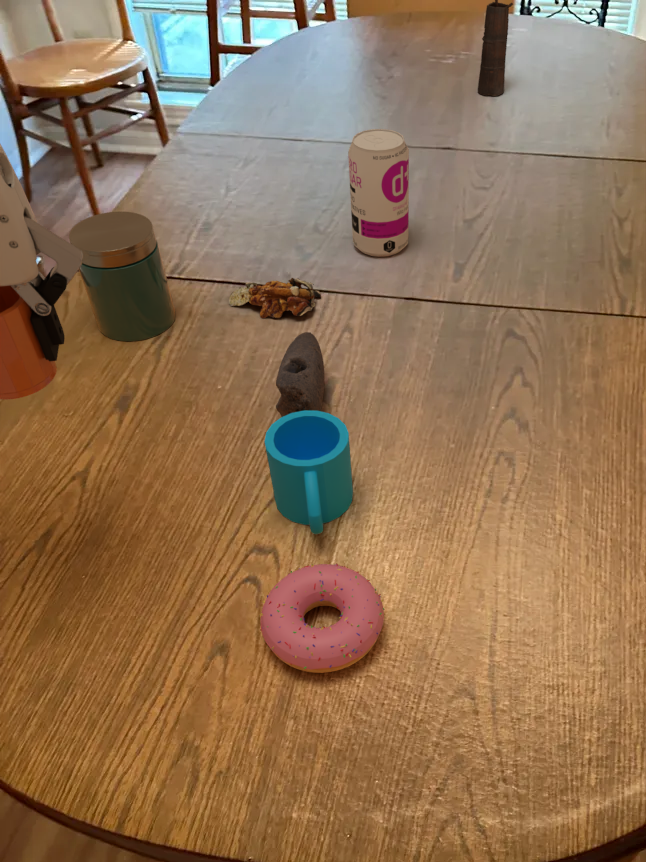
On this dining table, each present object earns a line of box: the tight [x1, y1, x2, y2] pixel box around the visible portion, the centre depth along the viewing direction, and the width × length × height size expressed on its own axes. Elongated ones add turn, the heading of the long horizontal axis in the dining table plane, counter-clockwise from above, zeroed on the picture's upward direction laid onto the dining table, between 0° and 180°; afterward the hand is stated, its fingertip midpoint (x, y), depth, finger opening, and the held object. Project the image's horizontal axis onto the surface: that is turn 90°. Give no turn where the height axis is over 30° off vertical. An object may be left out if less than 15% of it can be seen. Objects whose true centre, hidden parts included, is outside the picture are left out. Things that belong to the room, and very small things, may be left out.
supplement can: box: [347, 128, 410, 258], centre depth 111 cm, size 8×8×15 cm
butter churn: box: [477, 0, 514, 97], centre depth 146 cm, size 9×10×28 cm
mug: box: [264, 410, 354, 535], centre depth 78 cm, size 12×8×8 cm
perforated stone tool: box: [275, 331, 325, 417], centre depth 90 cm, size 15×5×7 cm, turn 178°
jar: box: [78, 239, 176, 342], centre depth 99 cm, size 10×10×12 cm
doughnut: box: [259, 562, 385, 674], centre depth 69 cm, size 11×11×4 cm
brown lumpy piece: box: [228, 277, 322, 319], centre depth 105 cm, size 7×12×4 cm, turn 82°
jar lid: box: [68, 211, 157, 268], centre depth 95 cm, size 10×10×2 cm
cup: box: [0, 286, 58, 400], centre depth 60 cm, size 6×6×7 cm
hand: (7, 353), depth 62 cm, fingers closed on cup, 6 cm apart
